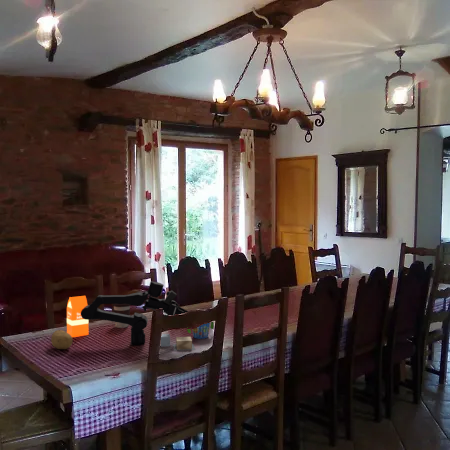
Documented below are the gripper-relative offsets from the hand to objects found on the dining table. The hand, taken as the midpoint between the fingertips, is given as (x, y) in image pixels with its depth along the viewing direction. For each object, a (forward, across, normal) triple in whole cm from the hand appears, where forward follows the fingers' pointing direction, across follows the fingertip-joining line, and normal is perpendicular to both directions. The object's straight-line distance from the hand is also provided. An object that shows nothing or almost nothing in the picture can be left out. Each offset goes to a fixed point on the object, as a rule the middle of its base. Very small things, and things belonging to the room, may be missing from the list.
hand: (188, 313), depth 249 cm
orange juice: (-50, +21, +29) cm, 62 cm away
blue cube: (-7, -3, +18) cm, 19 cm away
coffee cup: (-30, +36, +22) cm, 52 cm away
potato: (-52, -4, +32) cm, 62 cm away
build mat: (+2, -7, +15) cm, 17 cm away
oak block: (+2, -7, +15) cm, 17 cm away
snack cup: (+11, +10, +11) cm, 19 cm away
